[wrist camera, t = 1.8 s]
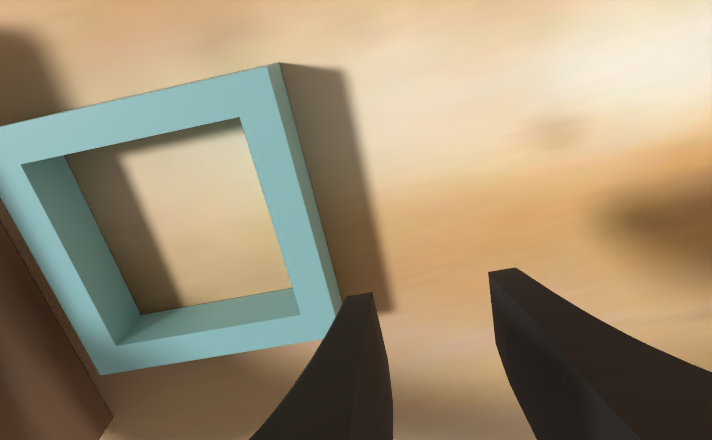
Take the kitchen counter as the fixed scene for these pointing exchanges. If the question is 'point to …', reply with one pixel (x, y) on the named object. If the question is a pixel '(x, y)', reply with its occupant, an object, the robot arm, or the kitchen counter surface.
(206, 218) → the kitchen counter surface
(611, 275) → the kitchen counter surface
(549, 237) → the kitchen counter surface
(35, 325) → the backstop board
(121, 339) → the collar block
